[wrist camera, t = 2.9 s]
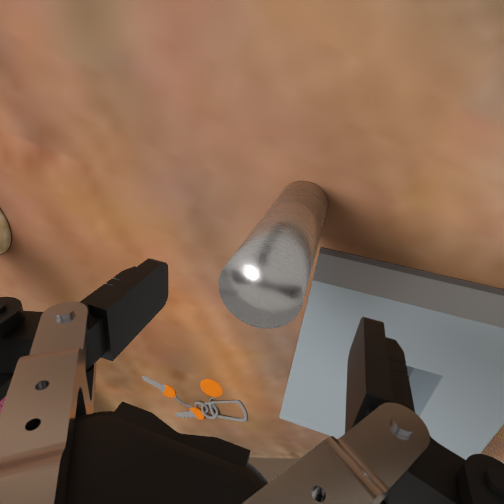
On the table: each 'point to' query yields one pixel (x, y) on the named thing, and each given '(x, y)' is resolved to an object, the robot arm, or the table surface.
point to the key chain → (210, 389)
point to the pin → (276, 259)
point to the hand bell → (4, 233)
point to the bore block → (403, 347)
